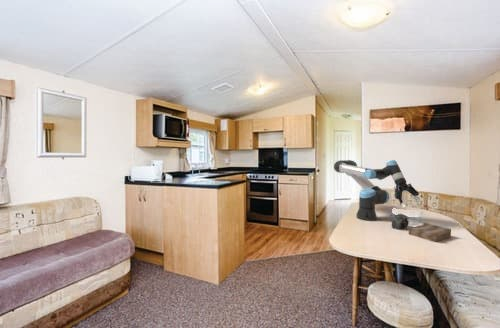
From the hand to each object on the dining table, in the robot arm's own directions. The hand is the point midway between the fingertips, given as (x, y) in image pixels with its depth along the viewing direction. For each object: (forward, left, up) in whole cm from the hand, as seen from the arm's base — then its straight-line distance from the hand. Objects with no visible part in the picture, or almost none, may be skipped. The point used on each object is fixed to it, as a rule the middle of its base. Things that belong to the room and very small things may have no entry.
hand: (412, 205), depth 181 cm
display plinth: (+17, -10, -15) cm, 25 cm away
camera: (-2, -11, -16) cm, 19 cm away
